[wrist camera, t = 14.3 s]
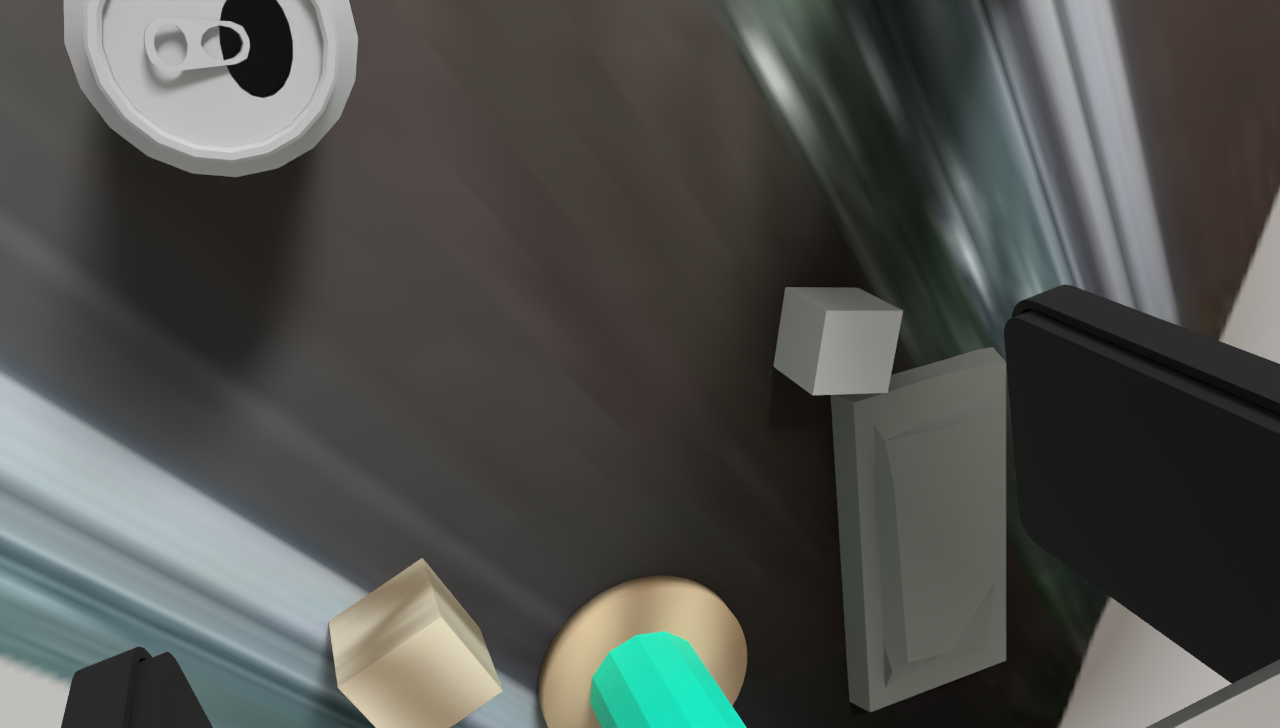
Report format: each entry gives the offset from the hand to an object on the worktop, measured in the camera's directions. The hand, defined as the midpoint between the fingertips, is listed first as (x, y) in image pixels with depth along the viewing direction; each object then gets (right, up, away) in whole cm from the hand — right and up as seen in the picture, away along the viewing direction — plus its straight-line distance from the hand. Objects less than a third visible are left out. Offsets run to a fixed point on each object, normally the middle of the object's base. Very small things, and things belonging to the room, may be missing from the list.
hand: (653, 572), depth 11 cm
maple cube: (-11, -10, +38) cm, 40 cm away
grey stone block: (+8, +4, +40) cm, 41 cm away
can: (-15, +15, +27) cm, 34 cm away
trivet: (0, -14, +43) cm, 45 cm away
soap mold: (+15, -7, +47) cm, 50 cm away
